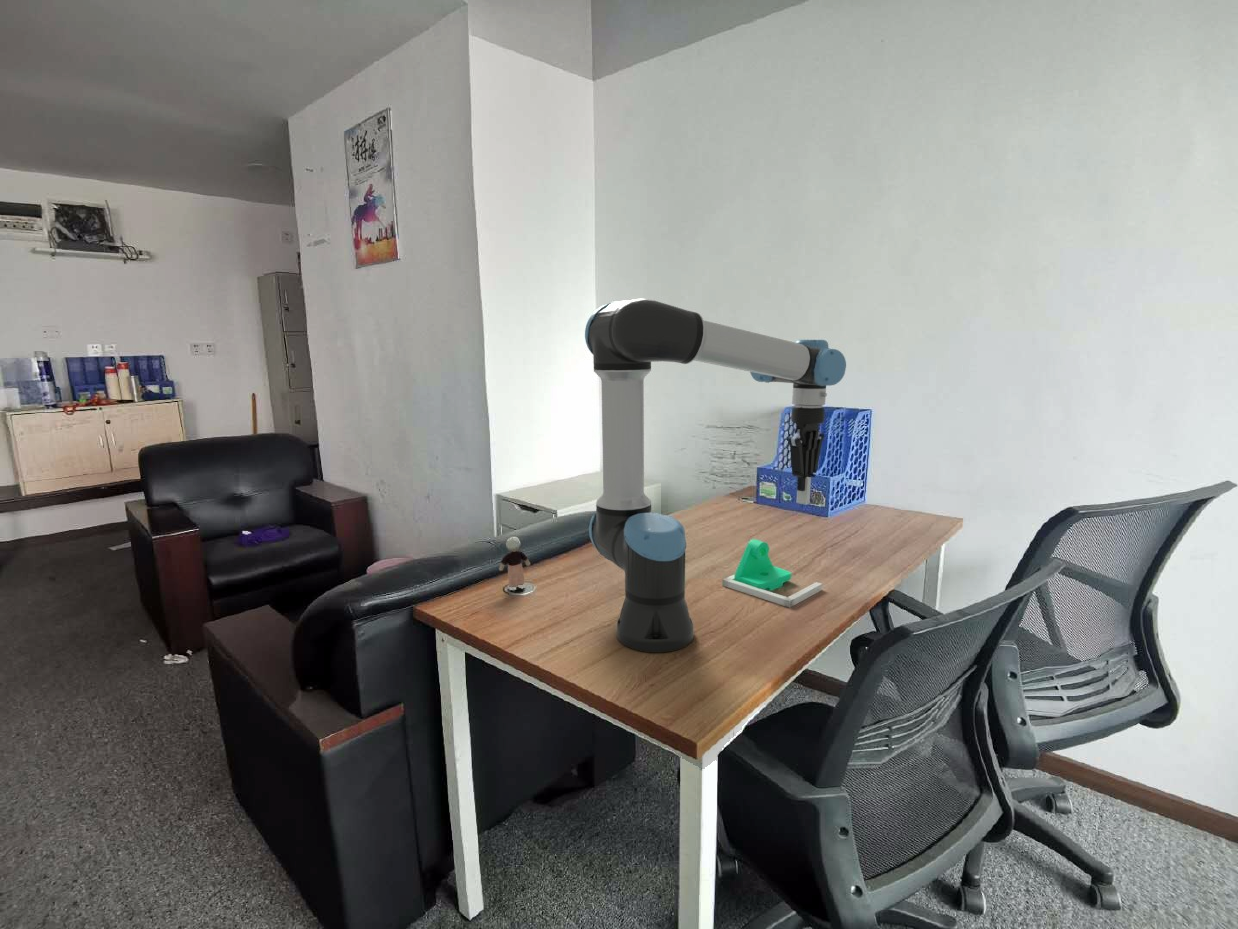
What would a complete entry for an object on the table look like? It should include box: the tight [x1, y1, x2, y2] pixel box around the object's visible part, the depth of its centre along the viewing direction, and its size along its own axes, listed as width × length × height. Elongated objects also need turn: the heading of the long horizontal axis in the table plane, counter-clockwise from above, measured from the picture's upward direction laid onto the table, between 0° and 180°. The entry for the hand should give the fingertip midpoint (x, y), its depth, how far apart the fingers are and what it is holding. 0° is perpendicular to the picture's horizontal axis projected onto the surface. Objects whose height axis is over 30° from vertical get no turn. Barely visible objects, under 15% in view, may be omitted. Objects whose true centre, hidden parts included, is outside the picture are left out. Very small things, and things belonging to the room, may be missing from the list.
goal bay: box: [721, 573, 823, 609], centre depth 147 cm, size 14×18×2 cm
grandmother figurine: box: [498, 536, 531, 588], centre depth 147 cm, size 8×4×13 cm, turn 134°
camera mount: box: [734, 538, 792, 592], centre depth 149 cm, size 12×8×10 cm, turn 127°
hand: (802, 503), depth 152 cm, fingers closed
